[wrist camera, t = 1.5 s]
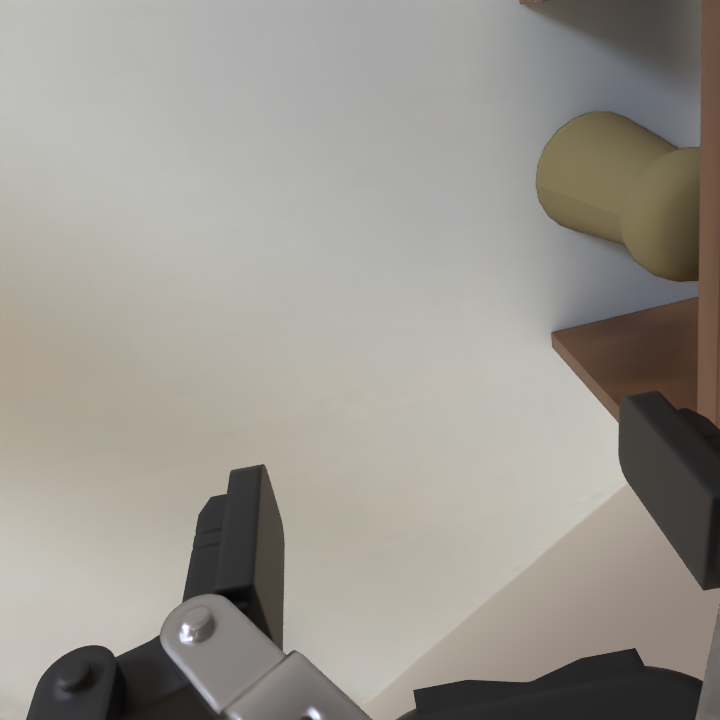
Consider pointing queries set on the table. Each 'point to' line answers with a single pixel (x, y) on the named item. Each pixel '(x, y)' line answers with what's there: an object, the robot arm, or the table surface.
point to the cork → (625, 191)
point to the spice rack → (673, 321)
